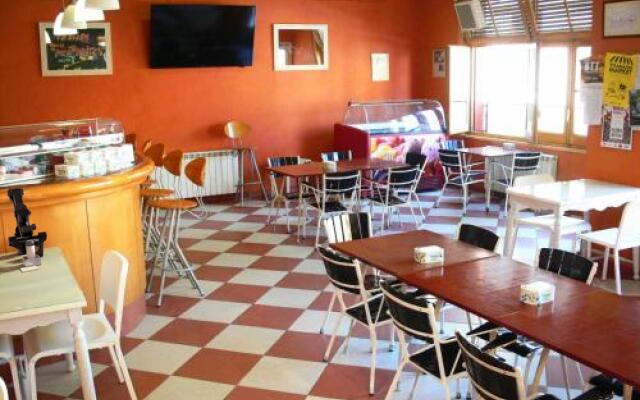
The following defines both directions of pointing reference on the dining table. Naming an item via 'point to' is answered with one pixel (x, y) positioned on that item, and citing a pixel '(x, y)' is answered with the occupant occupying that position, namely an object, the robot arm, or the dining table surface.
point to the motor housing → (32, 261)
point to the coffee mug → (36, 247)
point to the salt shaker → (30, 249)
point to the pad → (29, 268)
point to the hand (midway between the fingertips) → (31, 252)
